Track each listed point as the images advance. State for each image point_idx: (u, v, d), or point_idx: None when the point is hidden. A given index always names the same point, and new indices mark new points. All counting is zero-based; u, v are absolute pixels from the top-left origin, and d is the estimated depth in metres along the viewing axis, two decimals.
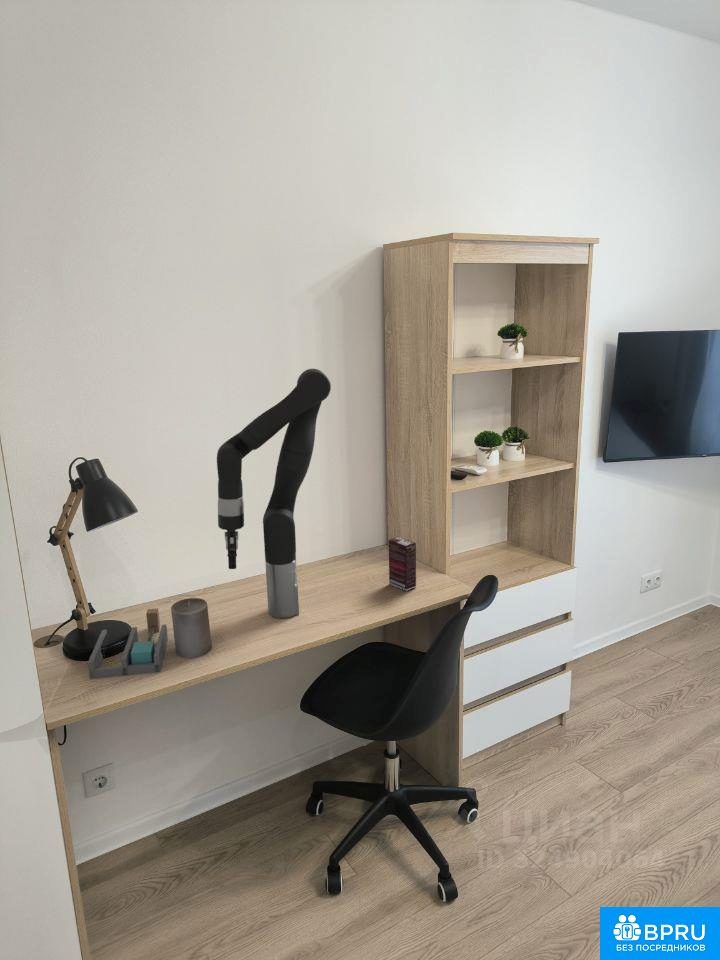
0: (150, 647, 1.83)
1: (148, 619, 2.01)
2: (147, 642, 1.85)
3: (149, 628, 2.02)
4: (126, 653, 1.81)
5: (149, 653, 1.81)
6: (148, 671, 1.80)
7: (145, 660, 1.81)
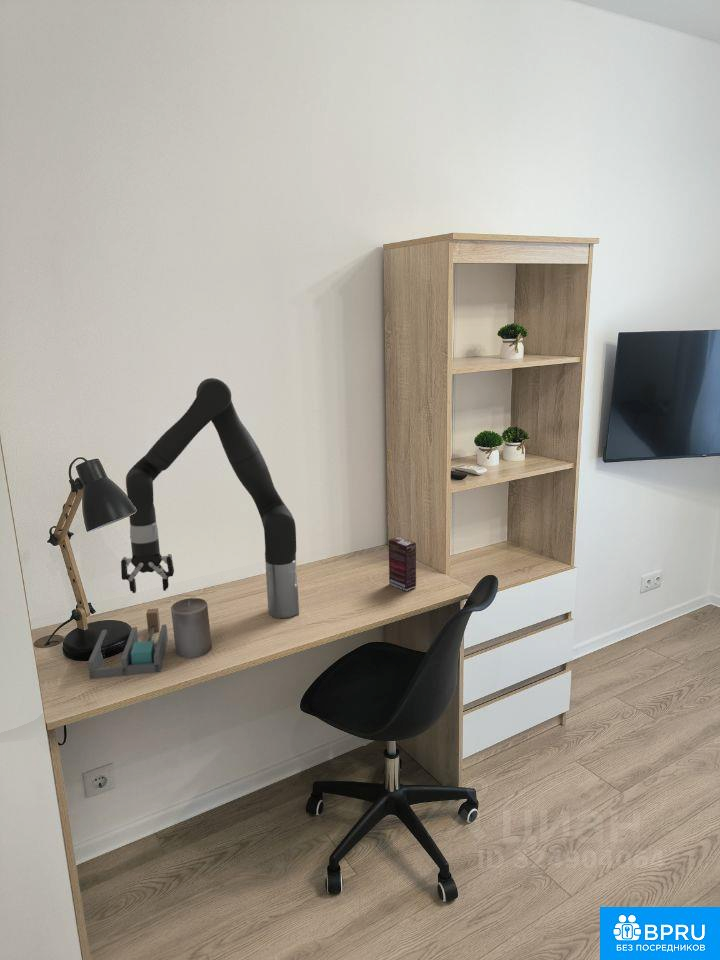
0: (150, 647, 1.83)
1: (148, 619, 2.01)
2: (147, 642, 1.85)
3: (149, 628, 2.02)
4: (126, 653, 1.81)
5: (149, 653, 1.81)
6: (148, 671, 1.80)
7: (145, 660, 1.81)
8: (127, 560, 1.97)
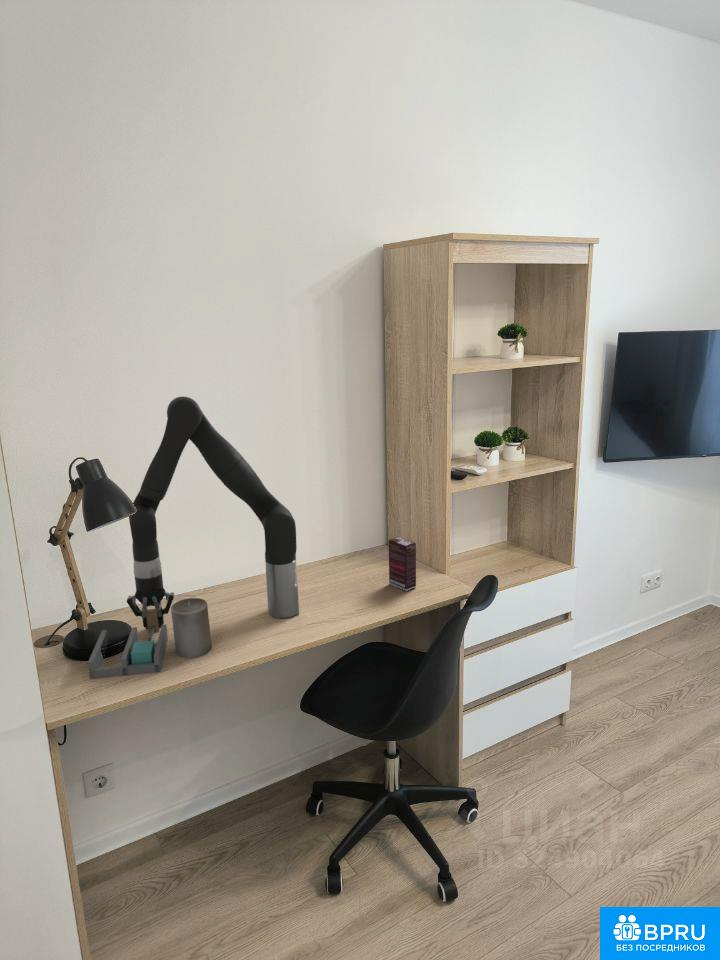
0: (150, 647, 1.83)
1: (148, 619, 2.01)
2: (147, 642, 1.85)
3: (149, 628, 2.02)
4: (126, 653, 1.81)
5: (149, 653, 1.81)
6: (148, 671, 1.80)
7: (145, 660, 1.81)
8: (132, 598, 2.00)
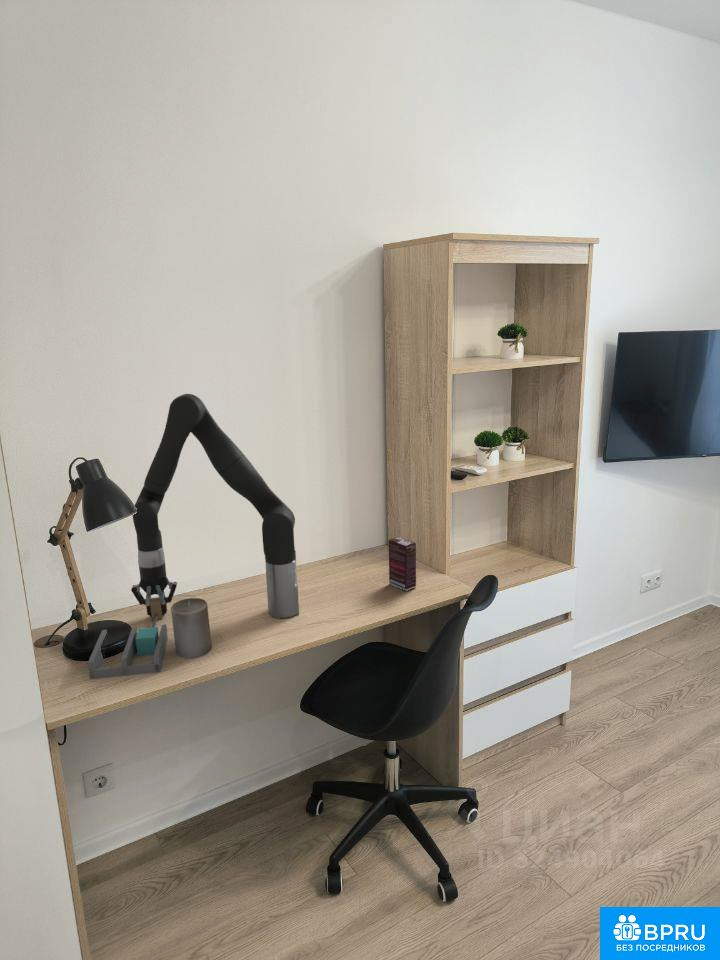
0: (154, 633, 1.90)
1: (152, 607, 2.09)
2: (151, 628, 1.93)
3: (153, 616, 2.09)
4: (126, 653, 1.81)
5: (153, 638, 1.88)
6: (148, 671, 1.80)
7: (149, 645, 1.89)
8: (136, 586, 2.07)
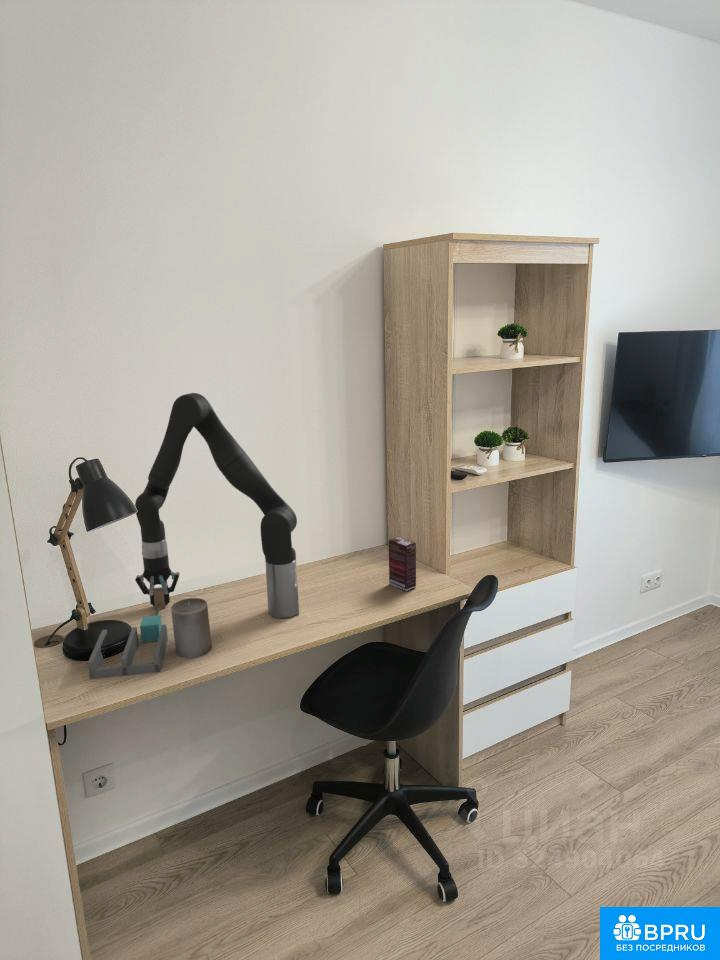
0: (157, 621, 1.98)
1: (155, 597, 2.16)
2: (155, 616, 2.00)
3: (156, 605, 2.17)
4: (126, 653, 1.81)
5: (157, 626, 1.96)
6: (148, 671, 1.80)
7: (153, 632, 1.96)
8: (140, 577, 2.15)
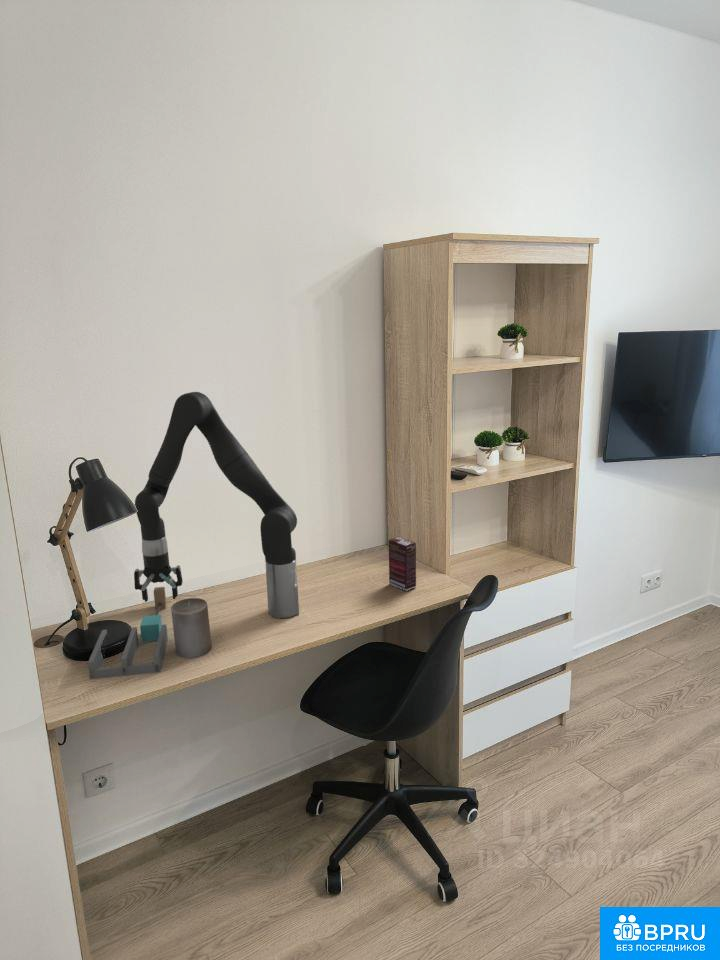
0: (158, 620, 1.98)
1: (155, 596, 2.16)
2: (155, 616, 2.01)
3: (156, 605, 2.17)
4: (126, 653, 1.81)
5: (157, 625, 1.96)
6: (148, 671, 1.80)
7: (153, 632, 1.96)
8: (139, 571, 2.14)
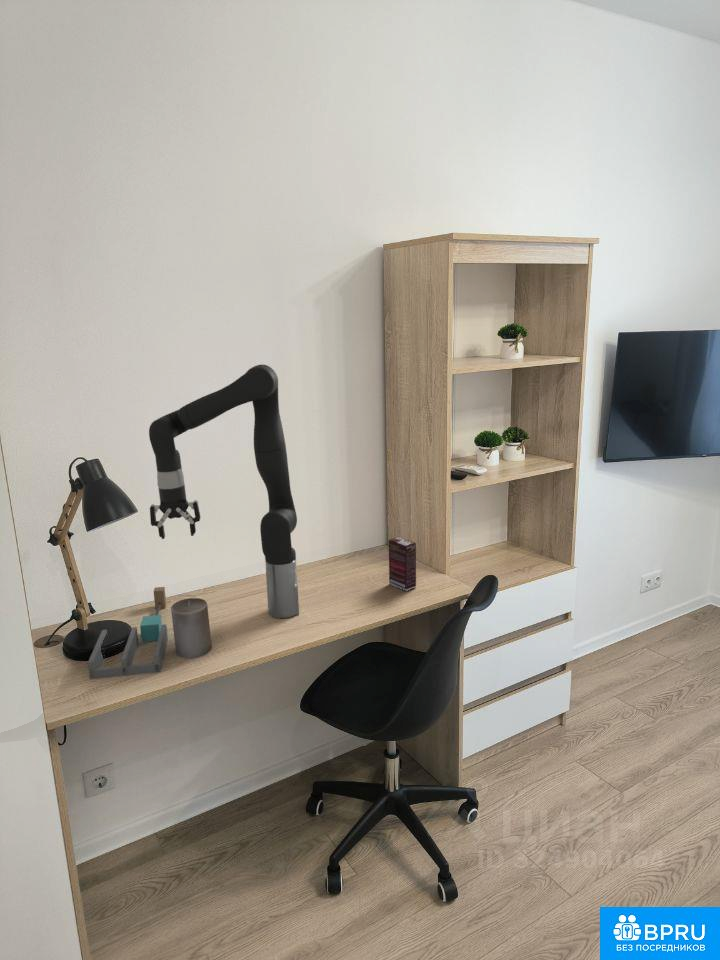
0: (158, 620, 1.98)
1: (155, 596, 2.16)
2: (155, 616, 2.01)
3: (156, 605, 2.17)
4: (126, 653, 1.81)
5: (157, 625, 1.96)
6: (148, 671, 1.80)
7: (153, 632, 1.96)
8: (155, 507, 2.05)
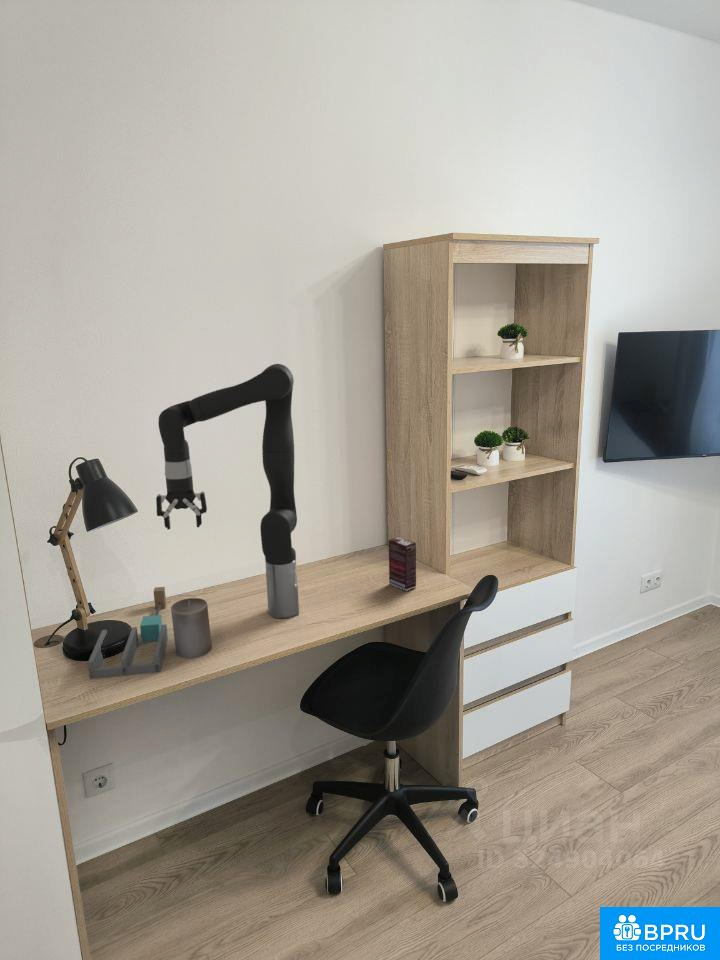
0: (158, 620, 1.98)
1: (155, 596, 2.16)
2: (155, 616, 2.01)
3: (156, 605, 2.17)
4: (126, 653, 1.81)
5: (157, 625, 1.96)
6: (148, 671, 1.80)
7: (153, 632, 1.96)
8: (162, 497, 2.03)
